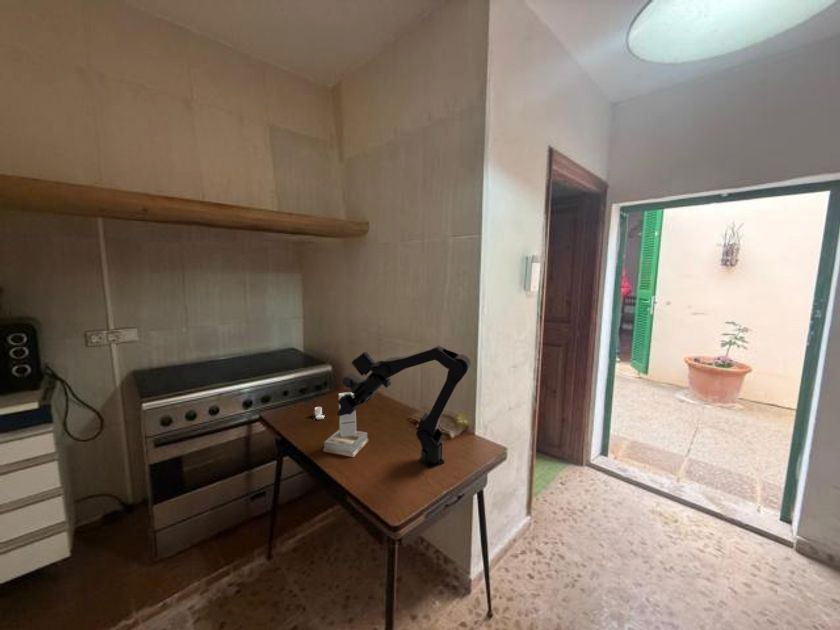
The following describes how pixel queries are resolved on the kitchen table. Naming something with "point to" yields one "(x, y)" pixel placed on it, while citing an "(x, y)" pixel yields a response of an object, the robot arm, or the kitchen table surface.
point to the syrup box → (347, 420)
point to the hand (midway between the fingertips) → (344, 410)
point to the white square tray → (345, 443)
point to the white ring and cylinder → (318, 413)
